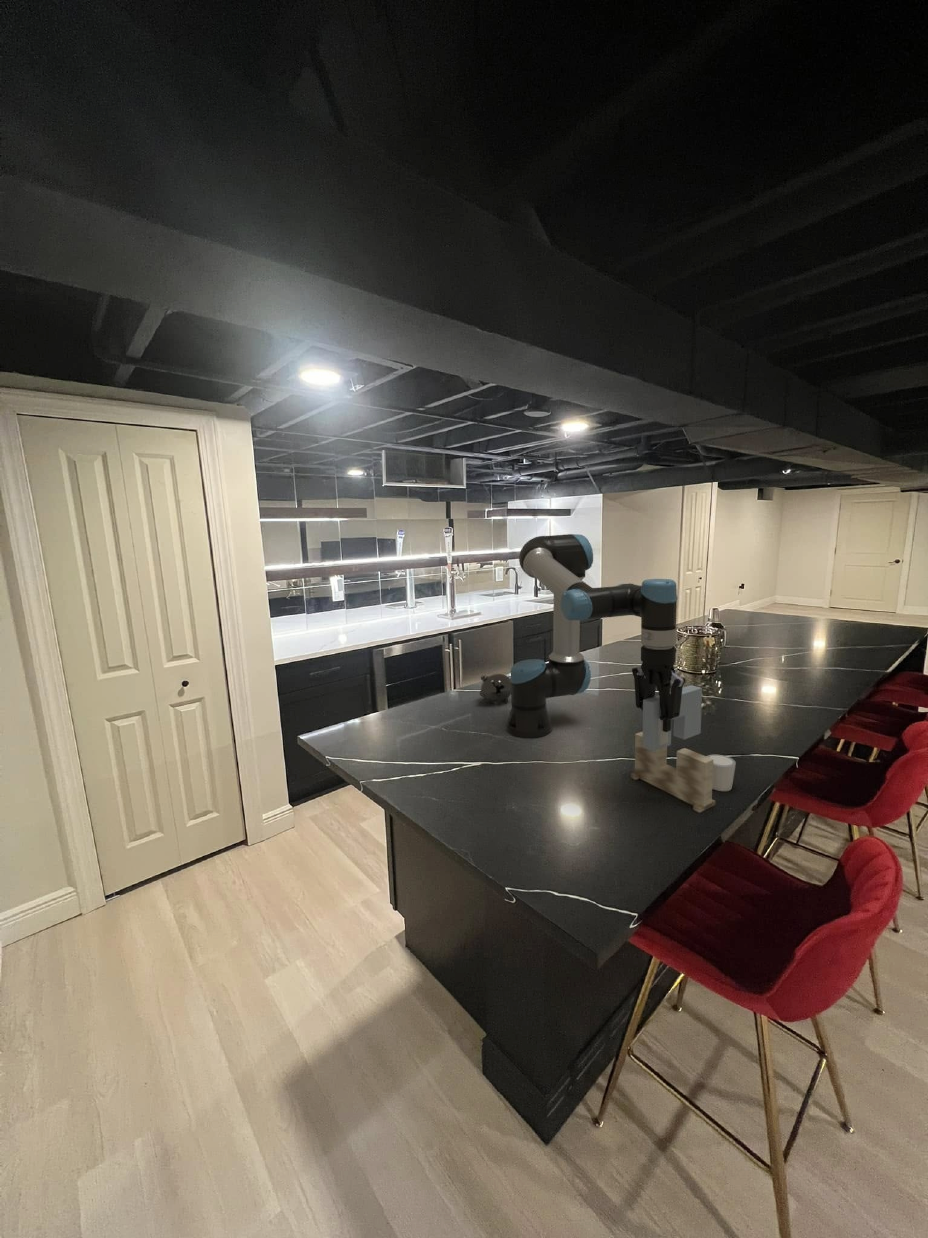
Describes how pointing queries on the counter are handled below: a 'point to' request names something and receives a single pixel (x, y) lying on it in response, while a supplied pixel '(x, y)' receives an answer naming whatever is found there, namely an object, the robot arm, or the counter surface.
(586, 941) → the counter surface
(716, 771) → the white cylinder
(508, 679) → the grey teddy bear
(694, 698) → the slotted plate
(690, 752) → the slotted stand
